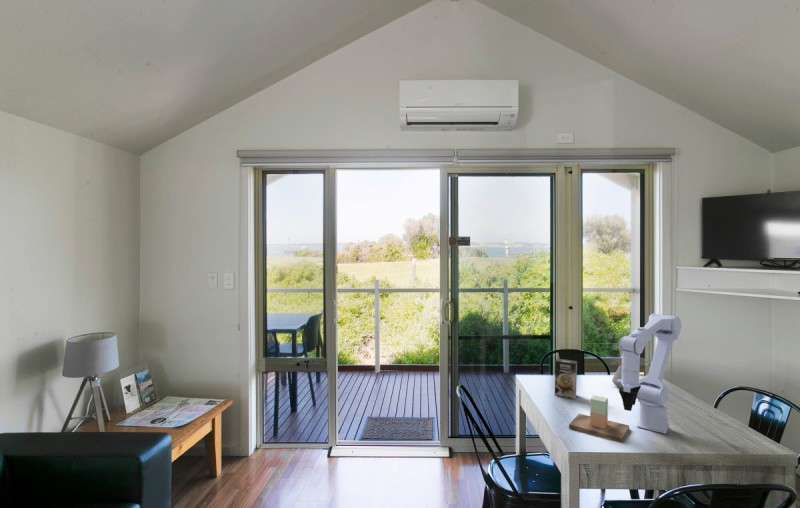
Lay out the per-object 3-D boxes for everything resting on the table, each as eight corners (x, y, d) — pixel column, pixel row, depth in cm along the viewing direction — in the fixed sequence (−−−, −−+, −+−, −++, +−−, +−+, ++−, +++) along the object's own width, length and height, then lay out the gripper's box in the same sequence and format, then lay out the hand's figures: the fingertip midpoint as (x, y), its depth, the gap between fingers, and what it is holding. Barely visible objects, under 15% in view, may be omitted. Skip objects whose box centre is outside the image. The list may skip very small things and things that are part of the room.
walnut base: (629, 429, 156) (629, 425, 156) (622, 442, 145) (622, 438, 145) (578, 417, 167) (578, 413, 167) (568, 428, 156) (569, 424, 156)
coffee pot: (611, 382, 214) (611, 353, 214) (636, 385, 210) (636, 356, 210) (615, 395, 194) (615, 363, 194) (643, 399, 190) (643, 366, 190)
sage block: (607, 411, 157) (607, 398, 157) (605, 415, 153) (605, 401, 153) (593, 408, 160) (593, 395, 160) (590, 412, 156) (590, 398, 156)
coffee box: (554, 395, 193) (554, 360, 193) (556, 391, 199) (556, 357, 198) (575, 399, 189) (576, 363, 189) (576, 394, 194) (577, 360, 194)
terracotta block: (607, 424, 157) (607, 411, 157) (604, 428, 153) (604, 415, 153) (593, 421, 160) (593, 408, 160) (590, 425, 156) (590, 411, 156)
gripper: (621, 364, 159) (621, 399, 159) (614, 371, 147) (613, 409, 147) (643, 367, 155) (642, 403, 155) (636, 375, 143) (636, 415, 143)
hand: (629, 407), depth 151 cm, fingers open, 7 cm apart
